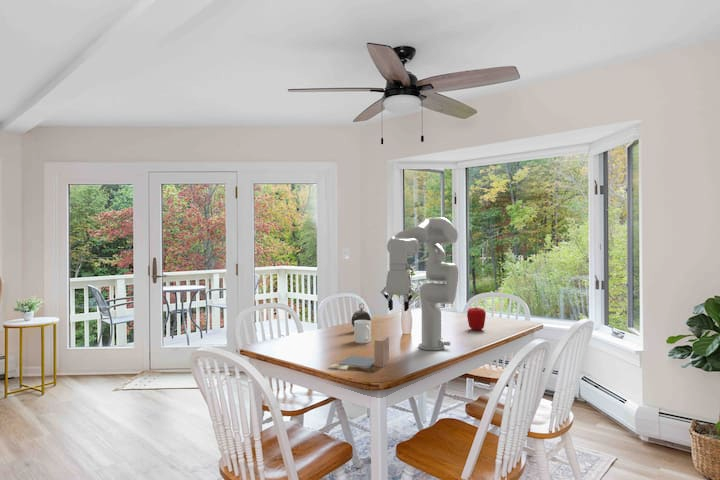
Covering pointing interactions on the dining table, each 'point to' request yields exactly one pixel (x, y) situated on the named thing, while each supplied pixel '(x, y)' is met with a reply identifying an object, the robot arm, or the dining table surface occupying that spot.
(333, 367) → the turner
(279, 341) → the dining table surface
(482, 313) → the red bell pepper
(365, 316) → the alarm clock
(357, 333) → the mug
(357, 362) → the mat
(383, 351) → the tan wooden block
